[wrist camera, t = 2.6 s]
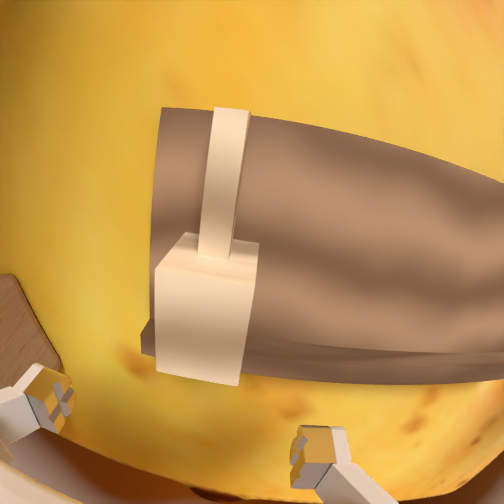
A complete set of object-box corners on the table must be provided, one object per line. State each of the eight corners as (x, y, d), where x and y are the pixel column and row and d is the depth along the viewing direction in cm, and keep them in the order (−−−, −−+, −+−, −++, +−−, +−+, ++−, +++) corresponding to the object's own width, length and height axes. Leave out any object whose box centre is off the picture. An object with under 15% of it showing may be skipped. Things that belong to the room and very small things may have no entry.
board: (172, 110, 16) (149, 104, 13) (554, 209, 16) (583, 223, 13) (159, 320, 21) (141, 353, 18) (499, 352, 21) (518, 377, 18)
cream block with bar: (199, 109, 15) (168, 98, 10) (278, 119, 15) (283, 111, 10) (180, 325, 19) (156, 378, 14) (244, 335, 19) (236, 393, 14)
